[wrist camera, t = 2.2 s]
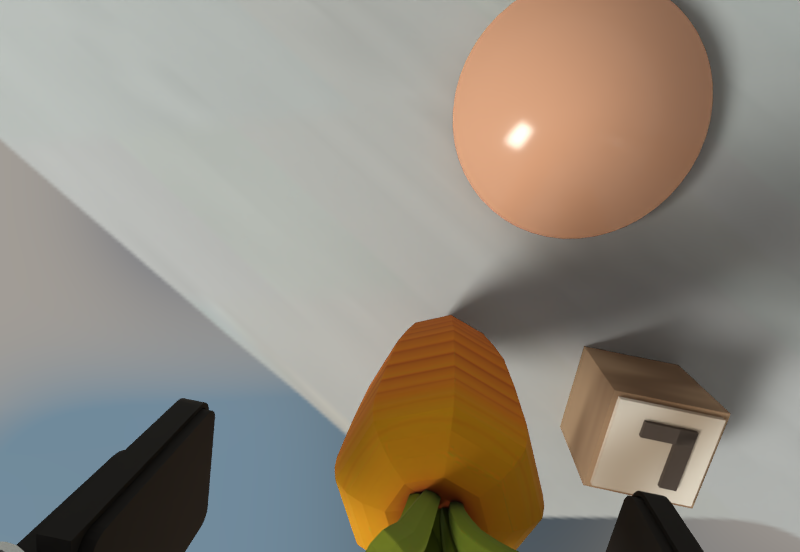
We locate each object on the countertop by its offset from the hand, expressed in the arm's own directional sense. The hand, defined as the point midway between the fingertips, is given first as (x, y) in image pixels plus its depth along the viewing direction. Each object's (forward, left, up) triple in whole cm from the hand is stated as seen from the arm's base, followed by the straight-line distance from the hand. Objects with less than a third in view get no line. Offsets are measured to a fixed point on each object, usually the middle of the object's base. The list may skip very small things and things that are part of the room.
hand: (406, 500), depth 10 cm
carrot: (-1, 0, -11) cm, 11 cm away
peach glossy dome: (-4, -10, -11) cm, 15 cm away
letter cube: (-9, +1, -11) cm, 14 cm away
